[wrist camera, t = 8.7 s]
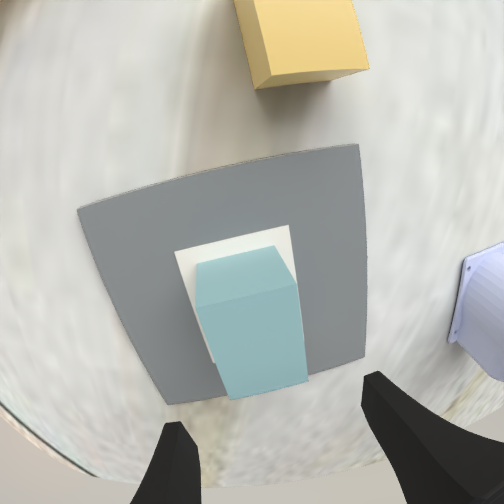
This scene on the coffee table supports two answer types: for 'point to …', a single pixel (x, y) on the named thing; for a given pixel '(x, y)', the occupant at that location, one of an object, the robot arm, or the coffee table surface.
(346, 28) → the ochre brick
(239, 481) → the coffee table surface
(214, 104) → the coffee table surface
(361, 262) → the baseplate
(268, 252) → the teal brick
